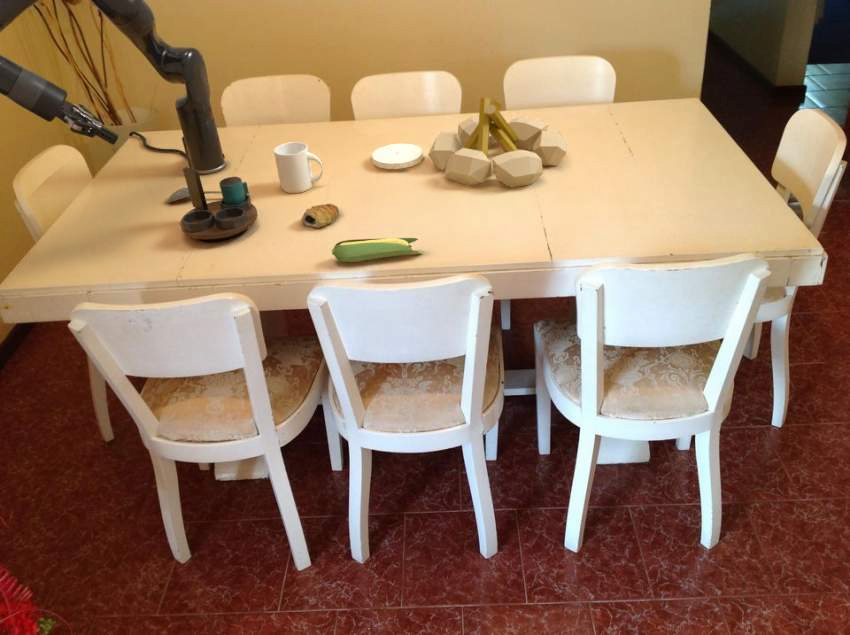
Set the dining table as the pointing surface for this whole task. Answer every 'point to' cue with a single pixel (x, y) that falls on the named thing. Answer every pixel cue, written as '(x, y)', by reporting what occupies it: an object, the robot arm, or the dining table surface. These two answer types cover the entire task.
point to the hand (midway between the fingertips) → (116, 140)
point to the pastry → (320, 215)
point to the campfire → (516, 134)
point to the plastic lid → (397, 156)
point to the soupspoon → (185, 193)
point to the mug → (295, 167)
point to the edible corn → (372, 249)
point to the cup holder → (217, 209)
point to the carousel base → (224, 237)
